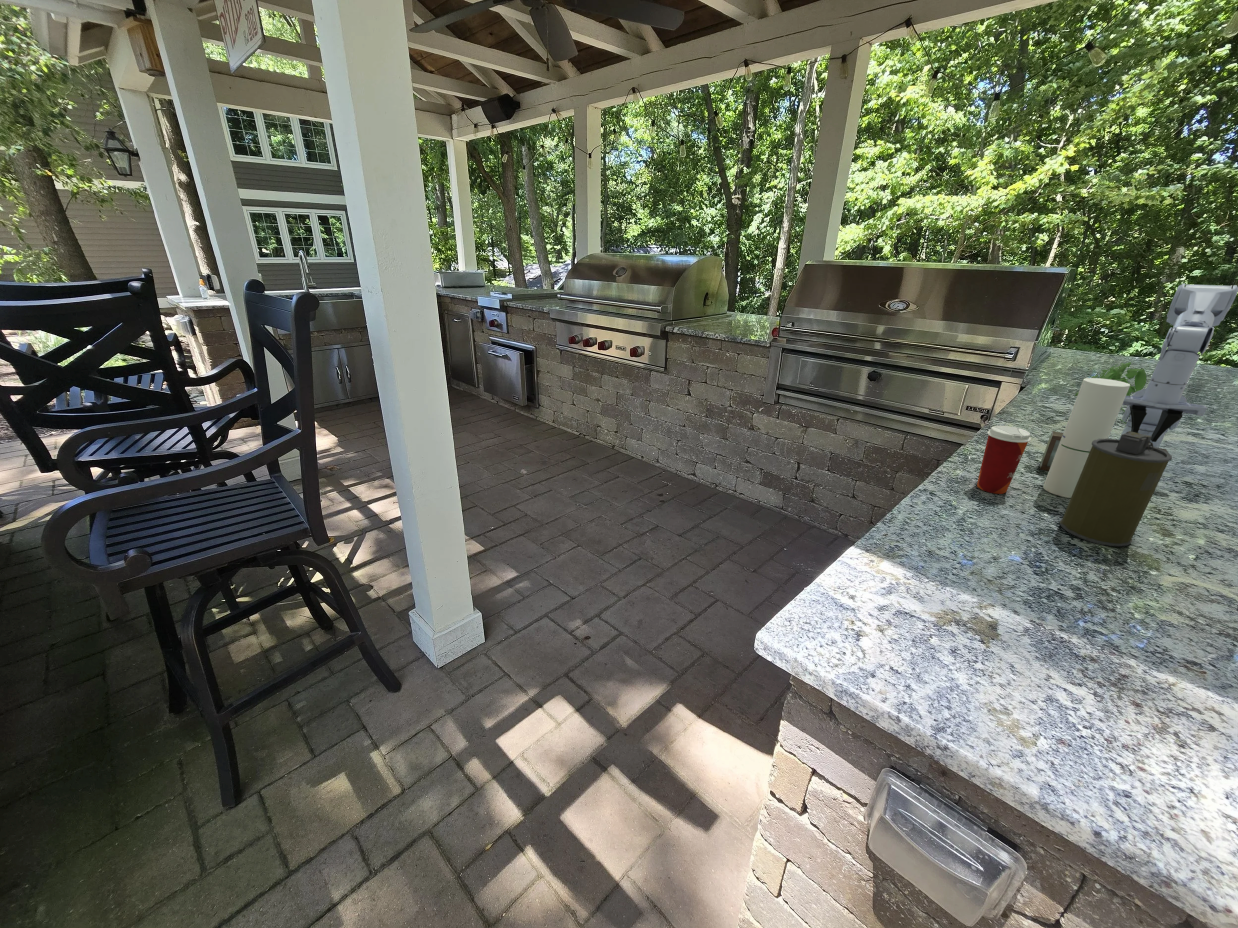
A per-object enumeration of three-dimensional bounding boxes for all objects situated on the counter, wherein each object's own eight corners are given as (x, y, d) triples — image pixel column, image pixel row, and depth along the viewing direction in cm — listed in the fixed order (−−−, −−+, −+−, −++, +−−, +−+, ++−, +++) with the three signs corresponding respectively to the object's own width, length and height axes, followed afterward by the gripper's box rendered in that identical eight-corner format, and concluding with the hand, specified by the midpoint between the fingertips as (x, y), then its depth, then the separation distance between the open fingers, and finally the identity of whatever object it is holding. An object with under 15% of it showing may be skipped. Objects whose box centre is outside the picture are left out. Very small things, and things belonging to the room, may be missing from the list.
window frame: (1039, 464, 126) (1052, 430, 122) (1149, 485, 115) (1166, 449, 111) (1039, 469, 123) (1052, 435, 120) (1152, 491, 112) (1170, 454, 108)
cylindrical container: (1077, 487, 114) (1121, 380, 104) (1089, 500, 108) (1136, 388, 98) (1039, 482, 116) (1078, 376, 107) (1048, 494, 111) (1090, 384, 101)
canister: (1115, 552, 89) (1164, 449, 82) (1048, 526, 98) (1086, 430, 90) (1142, 537, 94) (1191, 438, 86) (1076, 513, 103) (1114, 421, 95)
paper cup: (1019, 497, 109) (1040, 437, 104) (980, 494, 111) (999, 435, 105) (1001, 482, 116) (1020, 425, 111) (965, 479, 118) (982, 423, 112)
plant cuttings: (1129, 436, 164) (1075, 386, 172) (1193, 404, 151) (1132, 350, 159) (1103, 462, 144) (1043, 403, 152) (1174, 427, 132) (1105, 365, 139)
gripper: (1126, 380, 112) (1102, 437, 117) (1221, 390, 104) (1191, 451, 109) (1122, 374, 117) (1099, 429, 122) (1212, 384, 109) (1184, 442, 114)
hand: (1142, 439), depth 116 cm, fingers open, 3 cm apart
